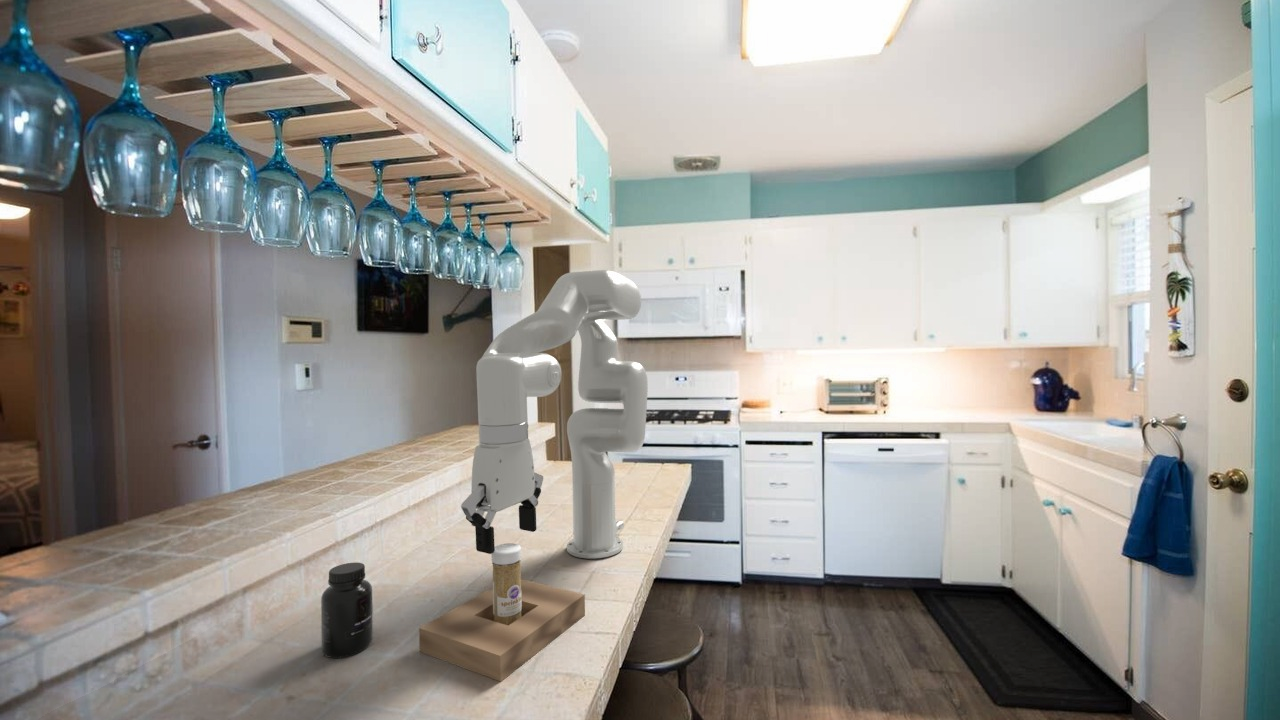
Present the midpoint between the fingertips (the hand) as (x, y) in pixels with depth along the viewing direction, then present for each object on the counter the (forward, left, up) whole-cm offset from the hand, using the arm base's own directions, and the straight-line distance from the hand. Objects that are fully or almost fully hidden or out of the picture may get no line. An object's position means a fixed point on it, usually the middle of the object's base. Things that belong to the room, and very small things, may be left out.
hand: (507, 540), depth 83 cm
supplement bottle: (+15, -19, -15) cm, 28 cm away
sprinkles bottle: (0, 0, -15) cm, 15 cm away
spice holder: (+1, 0, -14) cm, 14 cm away
